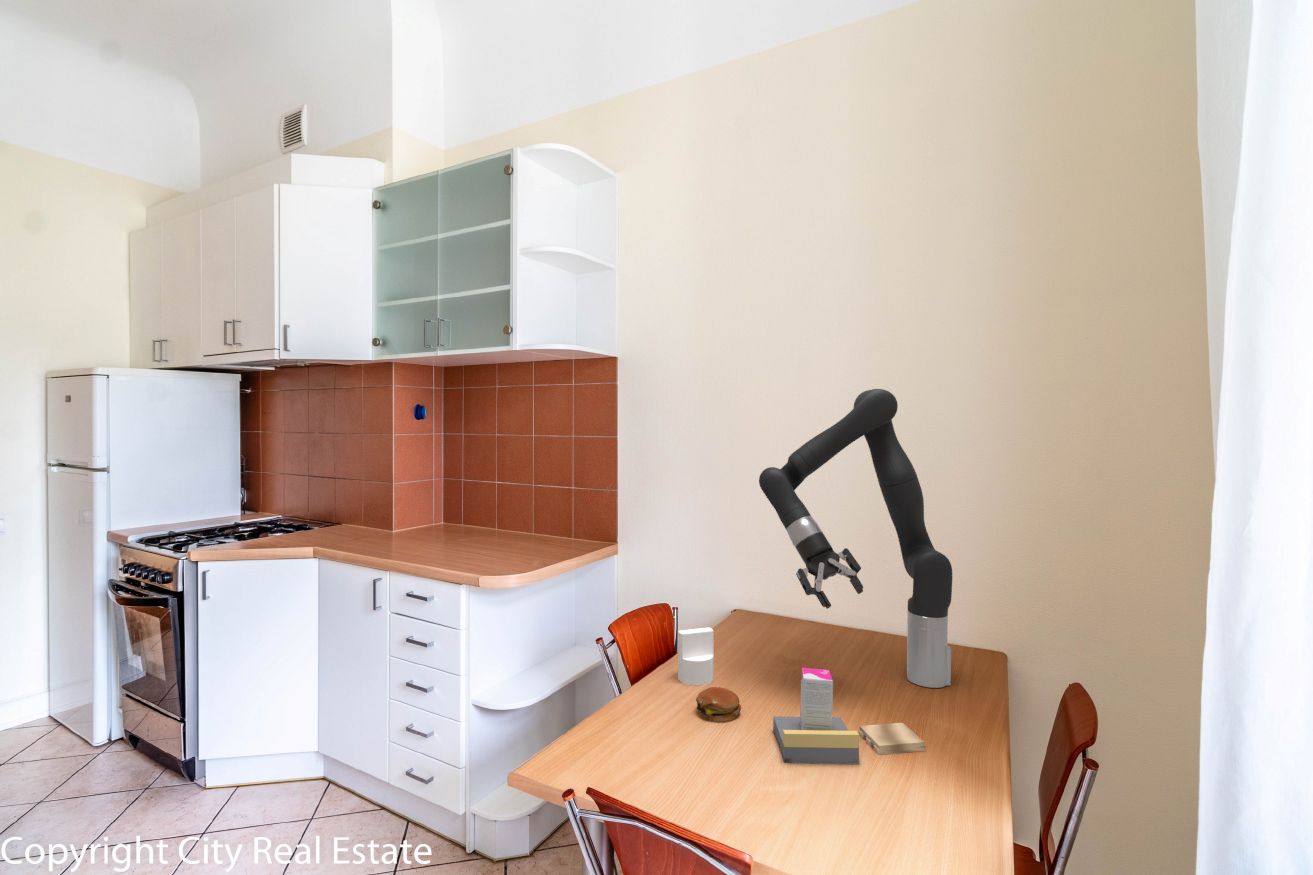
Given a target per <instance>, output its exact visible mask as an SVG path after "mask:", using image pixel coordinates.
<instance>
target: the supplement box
mask: <svg viewBox="0 0 1313 875" xmlns="http://www.w3.org/2000/svg"><path fill="white" fill-rule="evenodd" d="M800 675H801V677H800V705H799V706H800V707H799V708H800V709H799V711H800V712H799V717H800V728H801V730H832V717H833V700H834V698H833V694H834V692H833V690H834V680H833V676H832V673H831V671H830V670H829V669H823V668H822V669H821V668H813V667H812V668H809V667H801V674H800Z"/></svg>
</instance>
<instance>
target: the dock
mask: <svg viewBox="0 0 1313 875" xmlns="http://www.w3.org/2000/svg"><path fill="white" fill-rule="evenodd" d="M772 726H773V727H772V730H773V734H774V737H775V739H776V743H777V745H778V748H779V751H780V754H781V756H782V759H783V763H784V764H785V763H786V764H792V763H793V764H840V765H841V764H842V765H843V764H847V765H851V764H852V765H856V764H857V765H859V764H860V736H859V731H857V730H849V729H848V727H847V725H846V724H845V722H844V719H842V716H840V717H839V716H837V717H836V716H835V717H834V716H832V730H801V728H800V716H780V715H779V716H778V715H777V716H775V715H773V717H772Z"/></svg>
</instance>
